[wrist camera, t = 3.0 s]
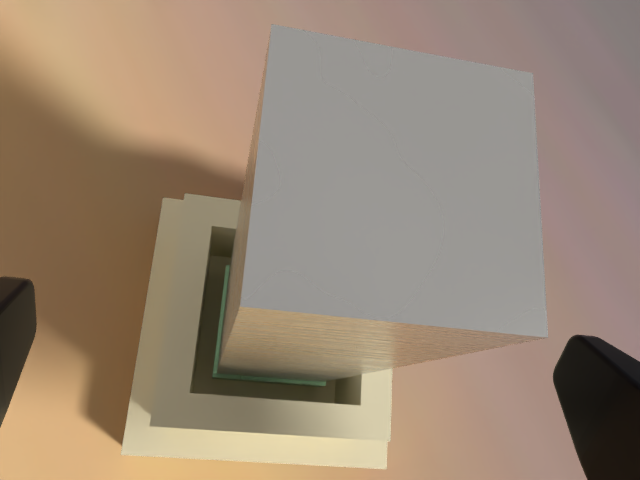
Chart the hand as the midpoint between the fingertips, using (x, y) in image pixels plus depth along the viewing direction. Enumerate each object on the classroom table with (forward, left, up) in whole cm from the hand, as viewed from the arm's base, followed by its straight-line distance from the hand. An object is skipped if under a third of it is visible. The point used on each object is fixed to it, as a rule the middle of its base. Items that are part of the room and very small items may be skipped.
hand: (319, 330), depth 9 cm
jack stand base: (+1, +1, -9) cm, 9 cm away
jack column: (+1, +1, -8) cm, 8 cm away
